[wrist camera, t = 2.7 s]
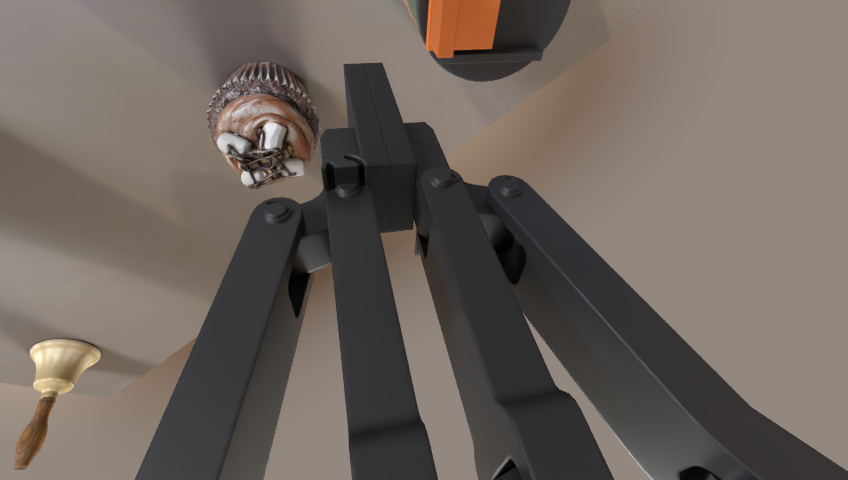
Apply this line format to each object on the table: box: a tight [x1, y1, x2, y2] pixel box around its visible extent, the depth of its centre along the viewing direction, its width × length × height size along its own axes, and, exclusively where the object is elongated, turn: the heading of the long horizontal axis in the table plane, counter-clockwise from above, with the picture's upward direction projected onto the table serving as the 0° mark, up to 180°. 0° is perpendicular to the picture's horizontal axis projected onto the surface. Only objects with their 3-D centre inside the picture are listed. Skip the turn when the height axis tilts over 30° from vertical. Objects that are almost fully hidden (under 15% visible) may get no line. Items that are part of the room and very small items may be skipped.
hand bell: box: [14, 339, 101, 470], centre depth 56 cm, size 8×8×16 cm
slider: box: [426, 0, 501, 58], centre depth 24 cm, size 4×5×2 cm
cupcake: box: [207, 61, 321, 189], centre depth 37 cm, size 10×10×10 cm
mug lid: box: [416, 0, 570, 82], centre depth 26 cm, size 10×10×2 cm
